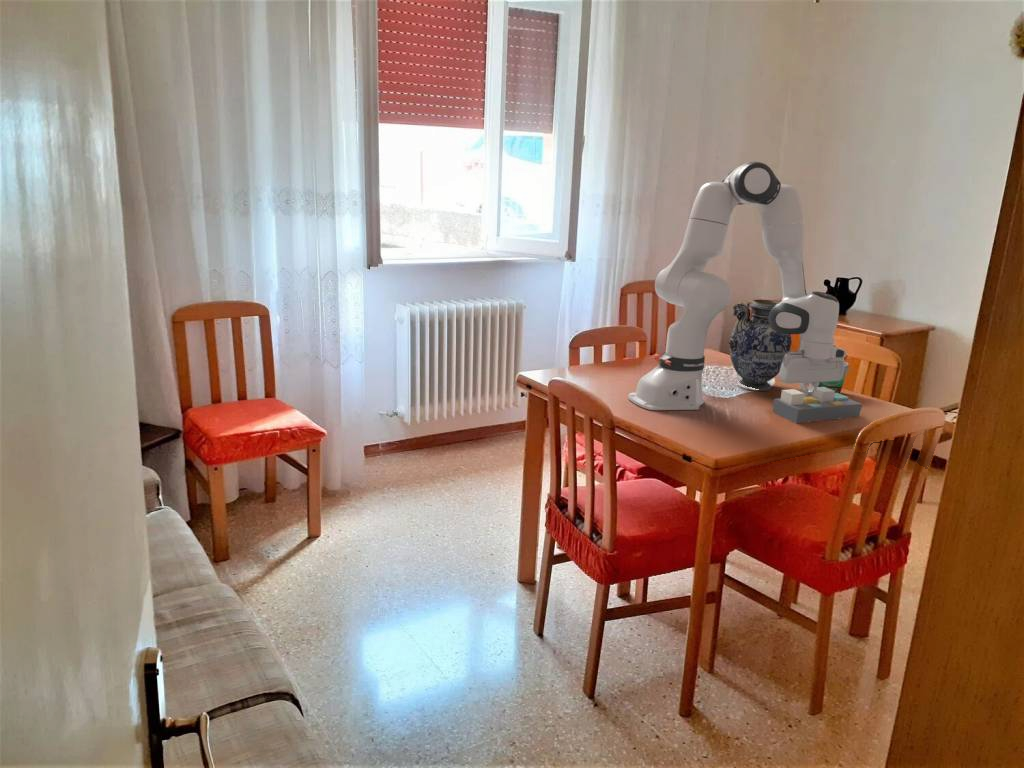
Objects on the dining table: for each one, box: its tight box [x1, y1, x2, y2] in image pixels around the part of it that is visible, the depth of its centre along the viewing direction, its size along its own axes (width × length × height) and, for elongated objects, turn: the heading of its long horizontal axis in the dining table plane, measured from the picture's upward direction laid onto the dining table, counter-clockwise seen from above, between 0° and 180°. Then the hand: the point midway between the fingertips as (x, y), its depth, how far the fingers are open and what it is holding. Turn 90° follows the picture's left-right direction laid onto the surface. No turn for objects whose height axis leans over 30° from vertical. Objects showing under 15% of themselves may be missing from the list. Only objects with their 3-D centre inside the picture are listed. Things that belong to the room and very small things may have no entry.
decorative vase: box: [728, 299, 793, 392], centre depth 239 cm, size 21×19×28 cm
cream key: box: [780, 388, 805, 405], centre depth 215 cm, size 4×4×4 cm
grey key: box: [813, 387, 835, 402], centre depth 219 cm, size 4×4×4 cm
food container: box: [818, 361, 850, 394], centre depth 236 cm, size 12×6×10 cm, turn 99°
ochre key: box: [803, 397, 819, 404], centre depth 217 cm, size 4×4×4 cm
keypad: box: [772, 397, 863, 424], centre depth 217 cm, size 23×10×4 cm, turn 111°
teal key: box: [834, 393, 849, 401], centre depth 221 cm, size 4×4×4 cm
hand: (807, 396), depth 216 cm, fingers closed
